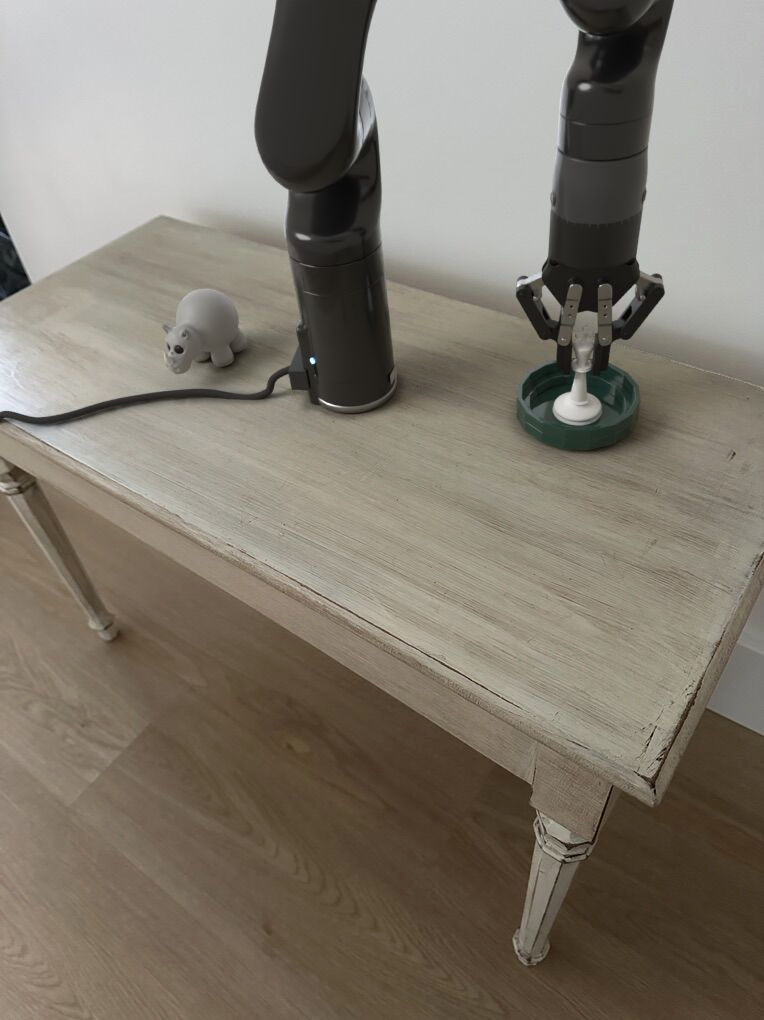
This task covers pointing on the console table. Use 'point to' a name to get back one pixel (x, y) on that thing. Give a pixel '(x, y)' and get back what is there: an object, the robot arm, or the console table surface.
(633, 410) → the dish
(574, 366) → the chess piece
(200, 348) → the chubby cartoon animal
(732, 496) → the console table surface
